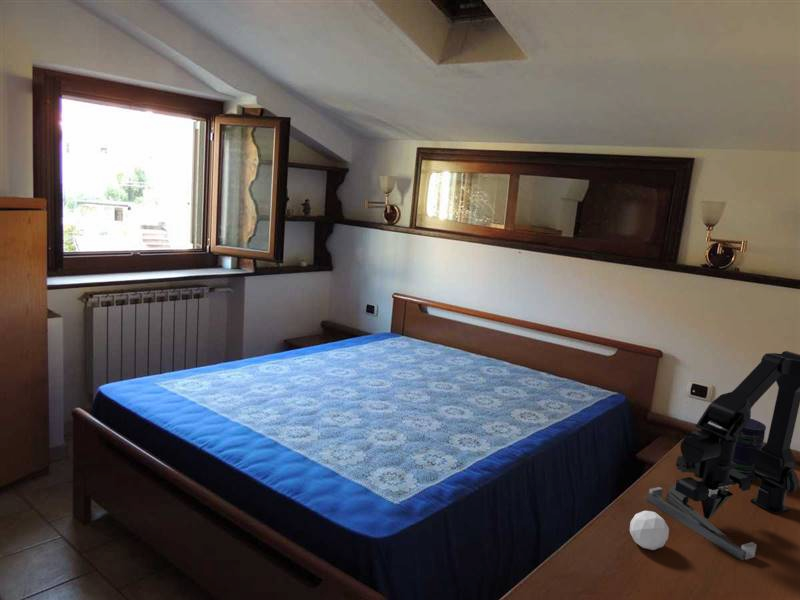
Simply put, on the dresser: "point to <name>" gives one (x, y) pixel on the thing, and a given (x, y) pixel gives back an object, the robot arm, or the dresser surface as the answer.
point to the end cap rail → (700, 527)
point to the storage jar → (748, 447)
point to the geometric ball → (649, 530)
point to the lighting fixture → (688, 509)
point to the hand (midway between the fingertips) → (707, 517)
